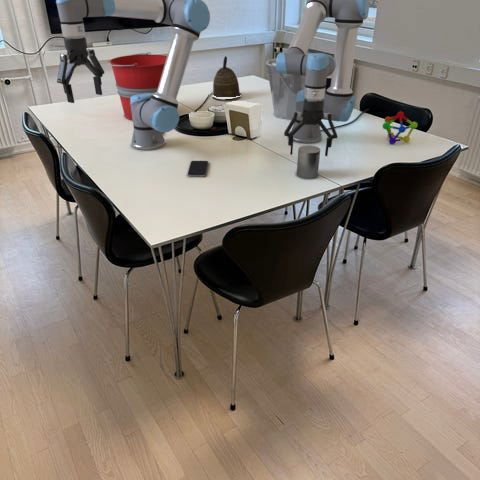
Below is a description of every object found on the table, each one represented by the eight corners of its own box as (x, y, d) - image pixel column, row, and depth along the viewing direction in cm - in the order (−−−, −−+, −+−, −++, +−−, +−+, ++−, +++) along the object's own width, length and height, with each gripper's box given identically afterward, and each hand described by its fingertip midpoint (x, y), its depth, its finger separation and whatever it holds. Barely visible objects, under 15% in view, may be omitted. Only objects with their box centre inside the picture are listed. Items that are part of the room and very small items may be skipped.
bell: (227, 105, 294) (202, 96, 282) (238, 66, 289) (213, 55, 277) (243, 108, 280) (217, 98, 268) (255, 66, 275) (229, 55, 263)
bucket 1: (123, 105, 263) (116, 51, 247) (182, 106, 262) (179, 52, 247) (107, 123, 234) (97, 63, 218) (173, 124, 233) (168, 64, 217)
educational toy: (377, 146, 209) (379, 114, 202) (384, 138, 219) (386, 107, 211) (411, 149, 202) (415, 116, 195) (417, 141, 212) (420, 109, 204)
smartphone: (187, 174, 176) (191, 160, 188) (187, 176, 176) (191, 162, 189) (205, 175, 176) (208, 160, 188) (205, 176, 176) (208, 162, 189)
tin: (294, 177, 176) (296, 151, 170) (298, 169, 183) (300, 144, 177) (315, 180, 174) (318, 154, 168) (319, 172, 181) (322, 146, 175)
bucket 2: (291, 125, 232) (295, 70, 217) (253, 113, 251) (254, 61, 236) (327, 115, 249) (333, 62, 234) (289, 104, 267) (292, 55, 253)
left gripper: (52, 42, 145) (65, 107, 156) (108, 33, 163) (116, 92, 174) (37, 40, 148) (51, 104, 160) (94, 32, 166) (103, 90, 178)
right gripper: (279, 100, 160) (276, 156, 171) (349, 102, 158) (341, 159, 169) (280, 95, 167) (277, 149, 178) (347, 98, 165) (340, 152, 176)
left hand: (85, 98), depth 167 cm, fingers open, 13 cm apart
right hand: (308, 154), depth 173 cm, fingers open, 13 cm apart
